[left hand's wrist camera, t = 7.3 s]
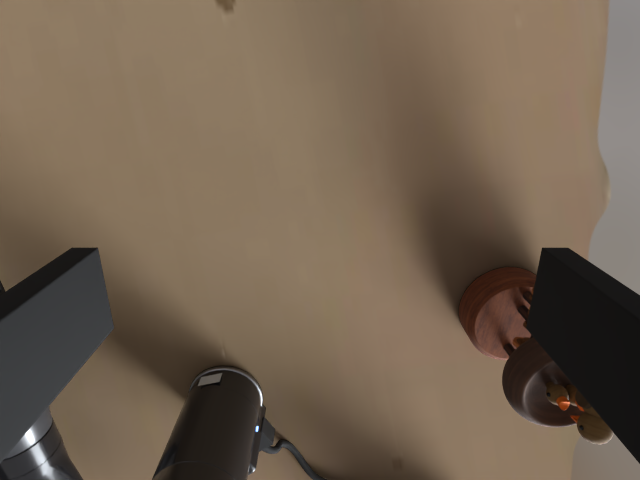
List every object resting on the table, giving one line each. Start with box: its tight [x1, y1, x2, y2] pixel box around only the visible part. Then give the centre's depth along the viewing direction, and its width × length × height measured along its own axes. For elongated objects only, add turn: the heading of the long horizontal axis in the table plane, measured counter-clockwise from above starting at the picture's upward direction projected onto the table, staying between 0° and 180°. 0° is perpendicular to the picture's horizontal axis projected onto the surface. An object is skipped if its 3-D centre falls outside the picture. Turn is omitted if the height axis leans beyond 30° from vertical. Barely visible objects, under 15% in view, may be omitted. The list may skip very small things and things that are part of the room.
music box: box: [459, 267, 613, 444], centre depth 41 cm, size 15×11×20 cm
